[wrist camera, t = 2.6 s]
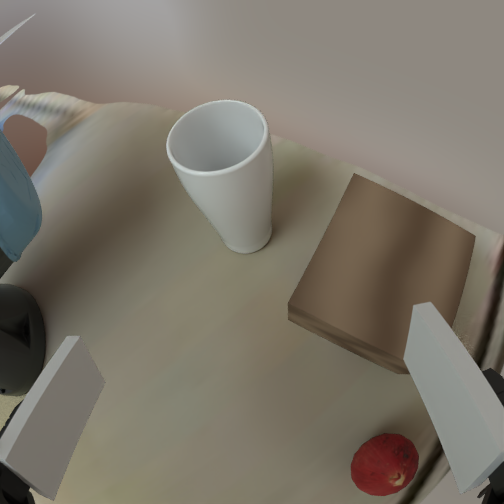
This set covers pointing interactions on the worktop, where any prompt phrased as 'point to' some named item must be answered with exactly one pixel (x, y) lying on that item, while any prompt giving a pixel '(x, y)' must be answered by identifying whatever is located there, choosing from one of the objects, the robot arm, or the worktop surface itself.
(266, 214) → the white tumbler
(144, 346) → the worktop surface
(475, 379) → the robot arm
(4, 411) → the worktop surface
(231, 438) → the worktop surface
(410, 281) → the walnut stand
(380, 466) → the onion
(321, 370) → the worktop surface
